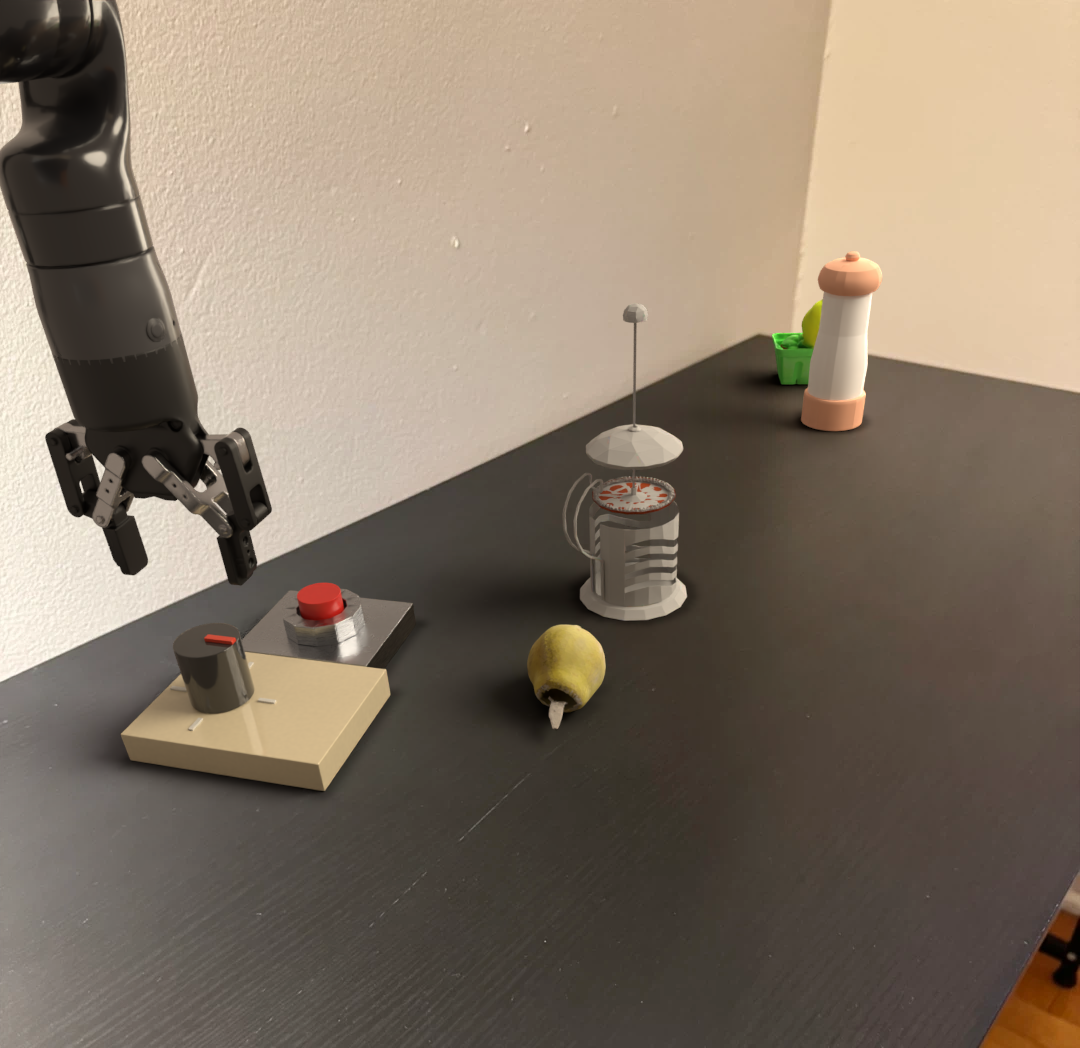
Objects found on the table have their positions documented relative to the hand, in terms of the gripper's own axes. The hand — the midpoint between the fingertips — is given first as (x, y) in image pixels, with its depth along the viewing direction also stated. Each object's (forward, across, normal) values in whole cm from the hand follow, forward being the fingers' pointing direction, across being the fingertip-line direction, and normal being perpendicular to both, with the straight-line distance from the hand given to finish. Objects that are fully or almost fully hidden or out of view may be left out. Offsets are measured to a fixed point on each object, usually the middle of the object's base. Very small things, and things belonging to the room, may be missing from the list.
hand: (188, 575), depth 69 cm
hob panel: (+13, -3, 0) cm, 13 cm away
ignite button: (+9, -3, -11) cm, 15 cm away
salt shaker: (+13, -42, -72) cm, 84 cm away
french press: (+13, -26, -25) cm, 38 cm away
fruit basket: (+13, -39, -87) cm, 96 cm away
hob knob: (+10, 0, 0) cm, 10 cm away
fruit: (+13, -25, -8) cm, 29 cm away
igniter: (+13, -3, -11) cm, 17 cm away
